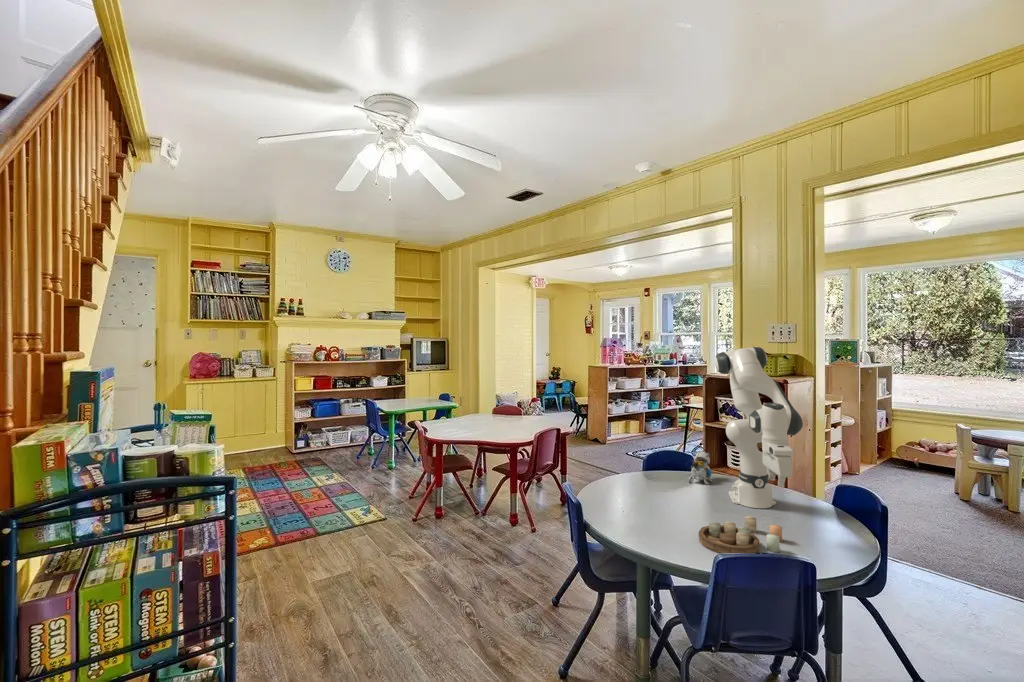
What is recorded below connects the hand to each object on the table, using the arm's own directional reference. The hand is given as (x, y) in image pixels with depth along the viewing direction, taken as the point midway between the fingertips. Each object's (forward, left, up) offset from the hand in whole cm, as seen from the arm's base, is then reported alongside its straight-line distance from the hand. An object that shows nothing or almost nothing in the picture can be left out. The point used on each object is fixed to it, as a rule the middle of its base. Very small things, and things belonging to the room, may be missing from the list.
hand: (776, 483), depth 174 cm
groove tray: (+6, -20, -21) cm, 29 cm away
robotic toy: (-73, -7, -22) cm, 77 cm away
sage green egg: (+10, -6, -21) cm, 24 cm away
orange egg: (+1, -1, -21) cm, 21 cm away
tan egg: (-7, -7, -21) cm, 23 cm away
